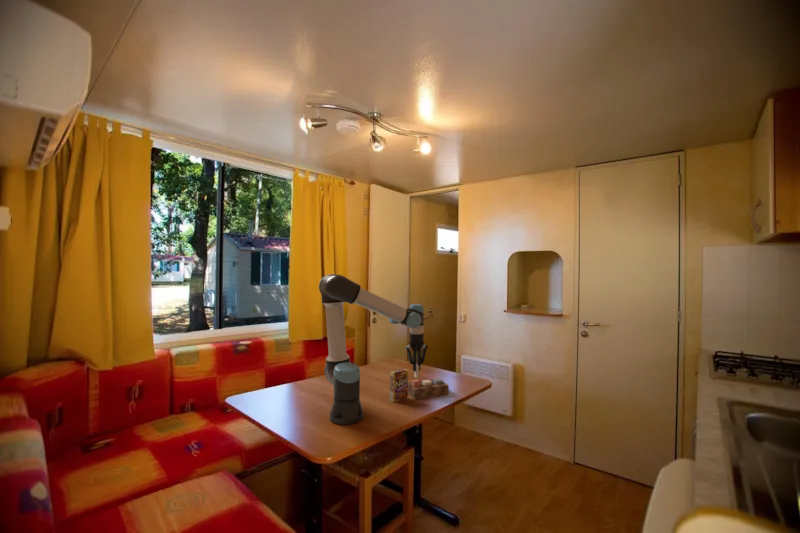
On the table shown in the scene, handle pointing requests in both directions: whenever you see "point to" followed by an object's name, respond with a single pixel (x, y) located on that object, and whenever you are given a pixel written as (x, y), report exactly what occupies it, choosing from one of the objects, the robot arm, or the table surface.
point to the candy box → (398, 385)
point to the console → (428, 390)
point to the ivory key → (426, 382)
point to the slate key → (437, 381)
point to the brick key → (416, 383)
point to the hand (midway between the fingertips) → (416, 376)
